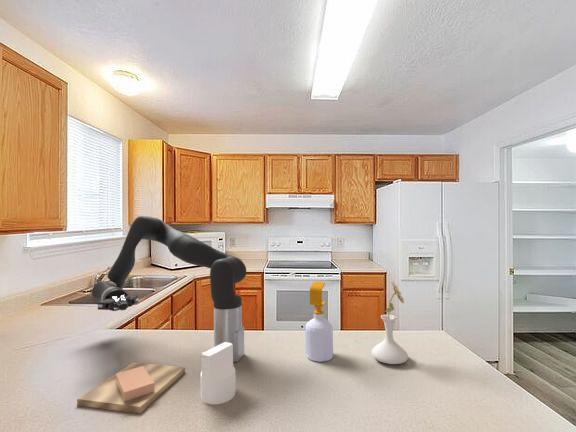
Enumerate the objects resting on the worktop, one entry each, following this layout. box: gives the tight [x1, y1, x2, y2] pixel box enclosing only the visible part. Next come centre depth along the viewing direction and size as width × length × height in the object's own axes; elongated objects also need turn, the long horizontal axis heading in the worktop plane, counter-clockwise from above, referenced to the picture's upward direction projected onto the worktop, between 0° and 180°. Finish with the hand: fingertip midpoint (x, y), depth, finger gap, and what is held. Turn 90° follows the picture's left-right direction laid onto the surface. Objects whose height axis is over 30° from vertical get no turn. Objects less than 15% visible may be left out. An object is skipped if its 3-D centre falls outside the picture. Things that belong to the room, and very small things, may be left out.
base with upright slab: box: [199, 342, 237, 405], centre depth 80 cm, size 9×9×12 cm
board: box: [76, 362, 186, 414], centre depth 84 cm, size 18×20×2 cm
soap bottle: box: [305, 281, 334, 363], centre depth 102 cm, size 9×9×25 cm
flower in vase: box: [371, 280, 409, 365], centre depth 99 cm, size 13×11×25 cm
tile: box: [115, 366, 154, 402], centre depth 81 cm, size 3×7×12 cm
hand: (123, 306), depth 97 cm, fingers closed
